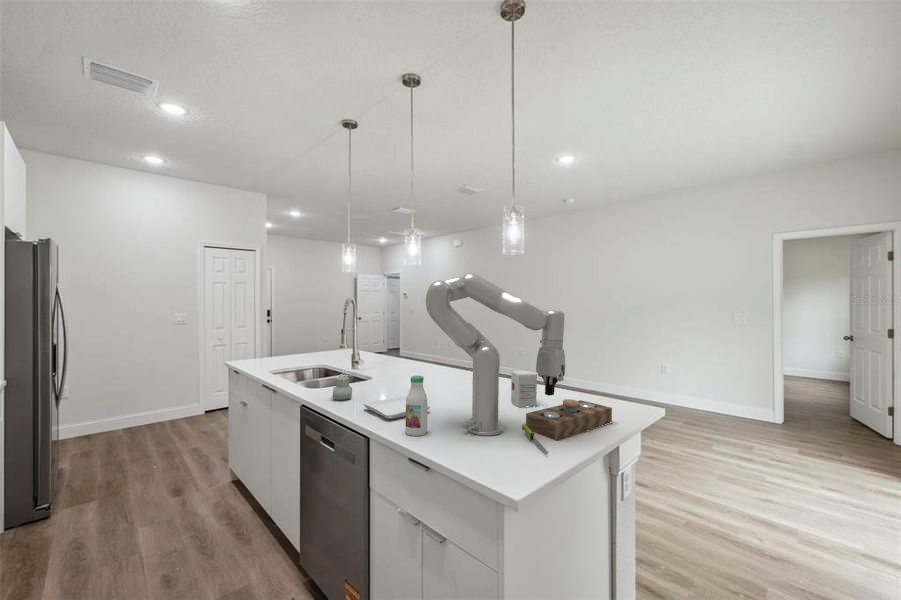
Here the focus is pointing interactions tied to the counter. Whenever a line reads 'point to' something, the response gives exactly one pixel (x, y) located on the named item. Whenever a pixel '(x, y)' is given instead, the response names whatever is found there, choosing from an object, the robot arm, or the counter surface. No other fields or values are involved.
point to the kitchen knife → (533, 438)
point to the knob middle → (570, 406)
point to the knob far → (587, 405)
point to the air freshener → (342, 389)
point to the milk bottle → (416, 408)
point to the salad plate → (389, 407)
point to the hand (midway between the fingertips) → (549, 394)
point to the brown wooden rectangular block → (568, 420)
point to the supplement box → (523, 388)
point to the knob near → (552, 415)
